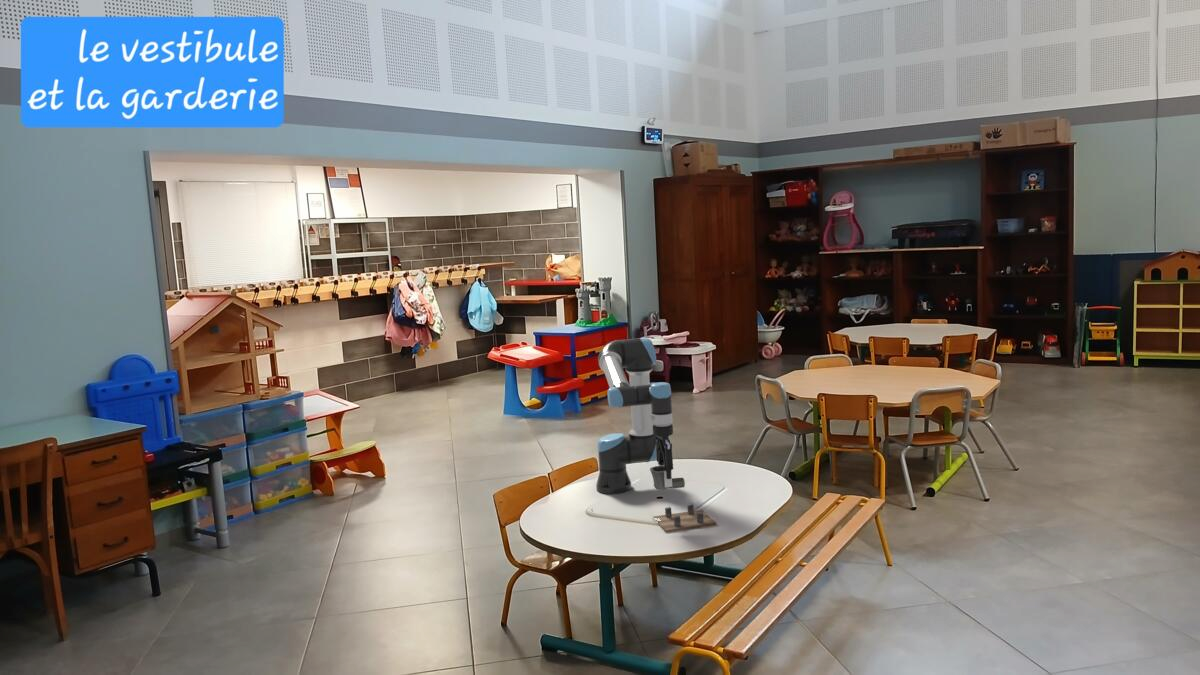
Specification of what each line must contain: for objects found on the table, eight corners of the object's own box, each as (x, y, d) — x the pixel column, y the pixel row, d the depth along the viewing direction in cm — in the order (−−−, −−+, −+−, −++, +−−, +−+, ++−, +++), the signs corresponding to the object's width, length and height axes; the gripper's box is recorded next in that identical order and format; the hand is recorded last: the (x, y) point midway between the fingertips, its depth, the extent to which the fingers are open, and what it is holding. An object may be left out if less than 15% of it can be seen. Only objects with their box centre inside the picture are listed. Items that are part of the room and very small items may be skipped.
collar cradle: (652, 519, 330) (652, 507, 330) (701, 511, 335) (701, 500, 334) (665, 532, 315) (665, 520, 314) (717, 525, 319) (716, 513, 319)
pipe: (684, 491, 319) (683, 471, 317) (649, 491, 322) (648, 471, 320) (685, 484, 325) (684, 465, 323) (651, 484, 328) (650, 465, 326)
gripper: (646, 420, 329) (649, 478, 332) (660, 430, 310) (663, 492, 313) (664, 418, 330) (668, 476, 333) (679, 428, 312) (683, 490, 315)
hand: (665, 484), depth 323 cm, fingers closed on pipe, 6 cm apart
